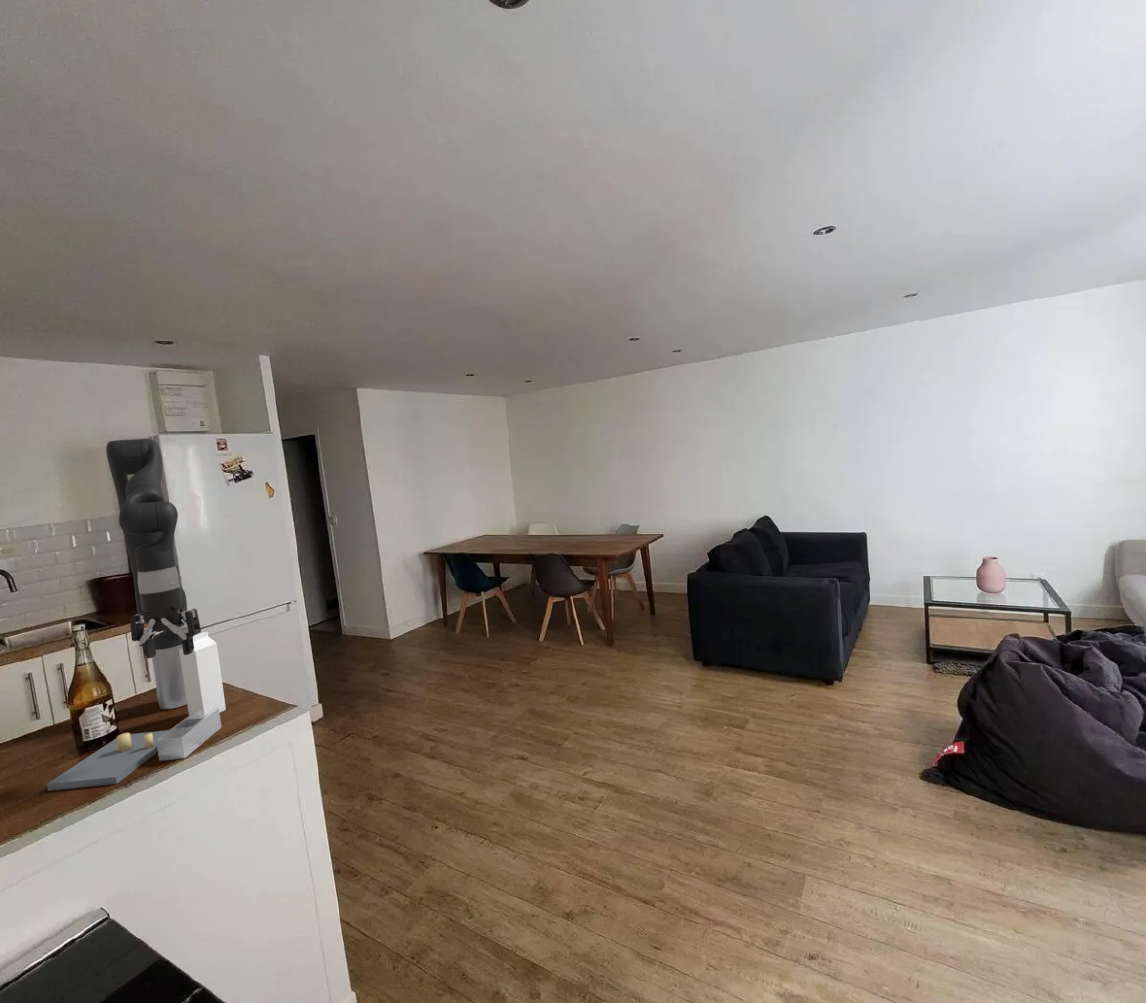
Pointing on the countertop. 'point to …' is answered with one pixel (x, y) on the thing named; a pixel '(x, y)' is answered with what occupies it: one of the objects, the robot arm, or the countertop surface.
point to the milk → (203, 676)
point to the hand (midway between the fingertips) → (169, 655)
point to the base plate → (110, 762)
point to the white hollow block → (188, 735)
